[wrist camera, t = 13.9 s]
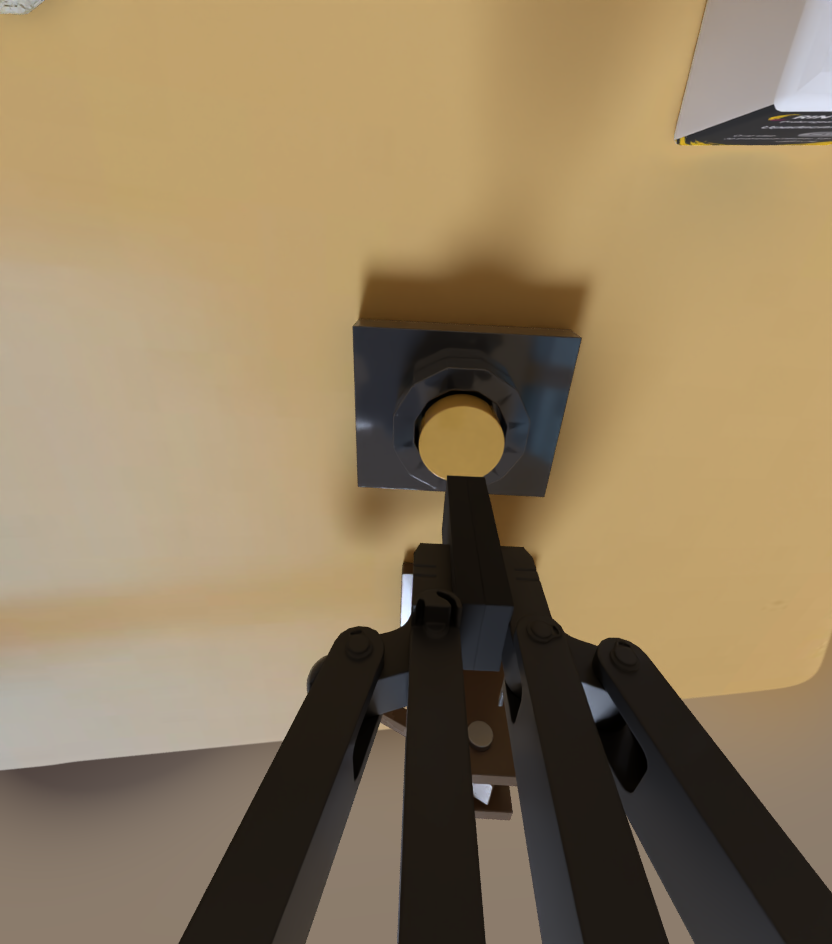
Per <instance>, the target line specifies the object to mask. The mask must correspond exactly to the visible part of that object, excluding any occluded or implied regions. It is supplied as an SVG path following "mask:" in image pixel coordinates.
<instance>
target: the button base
mask: <svg viewBox="0 0 832 944" xmlns="http://www.w3.org/2000/svg"><path fill="white" fill-rule="evenodd" d="M581 339H582V338H581V337H580V336H579V335H577V334H576V333H575V332H573V331H572V330H567V329H547V328H528V327H508V326H489V325H469V324H450V323H430V322H411V321H391V320H372V319H358V320H357V322H356V323H355V324H354V325H353V353H354V384H355V415H356V446H357V476H358V487H370V488H388V489H406V490H425V491H443V492H445V491H446V481H447V480H445V479H442V478H440V477H438V476H436V475H435V474H433V473H432V472H431V471H430V470H429V469H428V468H427V467H426V465H425V464H424V463H423V461H422V459H421V456H420V452H419V432H420V424H421V421H422V418H423V416H424V414H425V413H426V411H427V410H428V409H429V407H431V406H432V405H433V404H434V403H435V402H437V401H438V400H440V399H442V398H444V397H446V396H450V395H454V394H469V395H473V396H476V397H479V398H481V399H483V400H484V401H486V402H487V403H488V404H489V405H490V406H491V407H492V408H493V409H494V411H495V412H496V414H497V416H498V419H499V422H500V424H501V427H502V430H503V434H504V440H505V445H504V451H503V454H502V457H501V459H500V461H499V462H498V464H497V465H496V466H495V467H494V468H493V469H492V470H491V471H490V472H489V473H488V474H486V475H484V476H483V477H485V480H486V485H487V489H488V493H489V494H497V495H516V496H534V497H544V496H545V492H546V488H547V484H548V479H549V475H550V471H551V467H552V462H553V458H554V454H555V450H556V445H557V441H558V437H559V433H560V428H561V424H562V420H563V416H564V411H565V407H566V403H567V399H568V394H569V390H570V386H571V382H572V377H573V373H574V369H575V365H576V360H577V356H578V352H579V348H580V344H581Z"/></svg>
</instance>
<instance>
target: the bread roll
mask: <svg viewBox="0 0 832 944" xmlns="http://www.w3.org/2000/svg"><path fill="white" fill-rule="evenodd" d="M43 1H45V0H0V14H9V13H12V14H16V15H21V14H22V15H23V14H28V13H30V12H31V11H32V10H34V9H35V8H36V7H37V6H38V5H40V4H41V3H42V2H43Z"/></svg>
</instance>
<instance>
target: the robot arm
mask: <svg viewBox="0 0 832 944" xmlns="http://www.w3.org/2000/svg"><path fill="white" fill-rule="evenodd" d="M442 542H443V544H428V543H420V545H419V546H418V548H417V549H416V551H415V552H414V562H413V581H412V603H411V615H410V617H409V619H408V621H407V622H406V623H405V624H404V625H403V626H401V627H400V628H398V629H396V630H394V631H391V632H387V633H383V634H379V633H378V632H377V631H376V630H373V629H371V628H369V627H361V626H357V627H353V628H349V629H347V630H346V631H344V632H343V633H341V634H340V635H339V636H338V638H337V639H336V640H335V642H334V644H333V646H332V648H331V650H330V652H329V653H328V655H327V657H326V659H325V661H324V663H323V665H322V667H321V669H320V671H319V673H318V675H317V677H316V679H315V681H314V682H313V684H312V686H311V688H310V690H309V692H308V694H307V696H306V698H305V700H304V702H303V704H302V706H301V708H300V710H299V711H298V713H297V715H296V717H295V719H294V721H293V723H292V725H291V727H290V729H289V731H288V733H287V735H286V737H285V739H284V740H283V742H282V744H281V746H280V748H279V750H278V752H277V754H276V756H275V758H274V760H273V762H272V764H271V766H270V768H269V769H268V771H267V773H266V775H265V777H264V779H263V781H262V783H261V785H260V787H259V789H258V791H257V793H256V795H255V797H254V798H253V800H252V802H251V804H250V806H249V808H248V810H247V812H246V814H245V816H244V818H243V820H242V822H241V824H240V826H239V828H238V829H237V831H236V833H235V835H234V837H233V839H232V841H231V843H230V845H229V847H228V849H227V851H226V853H225V855H224V857H223V858H222V860H221V862H220V864H219V866H218V868H217V870H216V872H215V874H214V876H213V878H212V880H211V882H210V884H209V886H208V888H207V889H206V891H205V893H204V895H203V897H202V899H201V901H200V903H199V905H198V907H197V909H196V911H195V913H194V915H193V916H192V919H191V921H190V922H189V924H188V926H187V928H186V930H185V932H184V934H183V936H182V938H181V940H180V942H179V944H305V943H306V940H307V937H308V934H309V931H310V928H311V925H312V922H313V919H314V916H315V913H316V911H317V908H318V905H319V902H320V899H321V896H322V893H323V889H324V887H325V884H326V881H327V878H328V875H329V872H330V869H331V866H332V863H333V860H334V857H335V854H336V851H337V848H338V845H339V843H340V840H341V837H342V834H343V830H344V828H345V824H346V822H347V819H348V816H349V813H350V810H351V807H352V804H353V801H354V798H355V795H356V792H357V789H358V786H359V783H360V780H361V778H362V775H363V772H364V769H365V765H366V762H367V760H368V757H369V754H370V751H371V748H372V745H373V742H374V739H375V736H376V733H377V730H378V727H379V724H380V721H381V718H382V715H383V713H386V712H390V711H393V710H396V709H399V708H403V707H406V706H407V716H406V742H405V765H404V789H403V814H402V815H403V816H402V840H401V863H400V887H399V889H400V890H399V911H398V935H397V944H486V942H485V931H484V930H485V929H484V917H483V905H482V893H481V883H480V882H481V881H480V870H479V857H478V845H477V833H476V821H475V808H474V796H473V784H472V772H471V760H470V748H469V736H468V724H467V712H466V699H465V687H464V675H463V670H479V671H500V667H501V662H502V664H503V670H504V679H503V683H502V687H501V692H500V696H499V704H498V706H503V701H504V705H505V711H506V717H507V724H508V730H509V736H510V742H511V749H512V755H513V761H514V768H515V774H516V780H517V787H518V793H519V799H520V806H521V812H522V818H523V825H524V830H525V837H526V844H527V850H528V856H529V863H530V869H531V875H532V881H533V888H534V894H535V900H536V907H537V913H538V920H539V926H540V932H541V938H542V944H669V942H668V939H667V936H666V933H665V930H664V927H663V924H662V921H661V918H660V915H659V912H658V909H657V906H656V903H655V900H654V897H653V894H652V891H651V888H650V885H649V882H648V879H647V877H646V873H645V870H644V867H643V864H642V862H641V858H640V855H639V852H638V849H637V846H636V843H635V840H634V838H633V835H632V831H631V828H630V826H629V823H628V820H627V817H628V819H629V821H630V823H631V825H632V827H633V829H634V830H635V832H636V834H637V836H638V838H639V840H640V841H641V844H642V845H643V847H644V849H645V851H646V853H647V855H648V857H649V858H650V860H651V862H652V864H653V866H654V868H655V870H656V871H657V874H658V875H659V877H660V879H661V881H662V883H663V885H664V887H665V889H666V891H667V892H668V894H669V896H670V898H671V900H672V902H673V904H674V906H675V907H676V909H677V911H678V913H679V915H680V917H681V919H682V920H683V922H684V924H685V926H686V928H687V930H688V932H689V934H690V935H691V937H692V939H693V941H694V943H695V944H832V893H831V891H830V890H829V889H828V888H827V886H826V885H825V884H824V882H823V881H822V880H821V879H820V877H819V876H818V875H817V873H816V872H815V871H814V870H813V868H812V867H811V866H810V864H809V863H808V862H807V861H806V860H805V858H804V857H803V855H802V854H801V853H800V852H799V850H798V849H797V848H796V846H795V845H794V844H793V843H792V841H791V840H790V839H789V838H788V836H787V835H786V834H785V832H784V831H783V830H782V828H781V827H780V826H779V825H778V823H777V822H776V821H775V819H774V818H773V817H772V816H771V814H770V813H769V812H768V810H767V809H766V808H765V807H764V805H763V804H762V803H761V802H760V800H759V799H758V798H757V796H756V795H755V794H754V792H753V791H752V790H751V789H750V787H749V786H748V785H747V783H746V782H745V781H744V779H743V778H742V777H741V776H740V775H739V773H738V772H737V771H736V769H735V768H734V767H733V765H732V764H731V763H730V762H729V760H728V759H727V758H726V756H725V755H724V754H723V752H722V751H721V750H720V749H719V747H718V746H717V745H716V744H715V742H714V741H713V740H712V738H711V737H710V736H709V735H708V733H707V732H706V731H705V730H704V728H703V727H702V726H701V724H700V723H699V722H698V720H697V719H696V718H695V716H694V715H693V714H692V713H691V711H690V710H689V709H688V708H687V706H686V705H685V704H684V702H683V701H682V700H681V698H680V697H679V696H678V695H677V693H676V692H675V691H674V689H673V688H672V687H671V686H670V684H669V683H668V682H667V680H666V679H665V678H664V677H663V675H662V674H661V673H660V671H659V670H658V669H657V668H656V666H655V665H654V664H653V662H652V661H651V660H650V659H649V657H648V656H647V655H646V654H645V653H644V652H643V651H642V650H641V649H640V648H639V647H638V646H636V645H634V644H633V643H631V642H629V641H627V640H624V639H620V638H607V639H605V640H602V641H601V643H600V644H599V645H598V646H596V645H593V644H590V643H587V642H584V641H581V640H578V639H575V638H573V637H571V636H569V635H568V634H566V633H564V631H563V629H562V627H561V626H560V625H559V624H558V623H557V622H556V621H555V620H554V619H552V617H551V614H550V611H549V608H548V604H547V601H546V598H545V595H544V592H543V589H542V586H541V582H540V581H539V576H538V573H537V572H536V567H535V564H534V560H533V558H532V556H531V555H530V554H529V553H528V552H527V551H526V550H525V549H524V547H508V546H500V541H499V537H498V533H497V528H496V524H495V520H494V515H493V511H492V506H491V502H490V498H489V493H488V489H487V485H486V480H485V477H472V476H452V475H447V481H446V491H445V502H444V513H443V524H442ZM626 815H627V817H626Z"/></svg>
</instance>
